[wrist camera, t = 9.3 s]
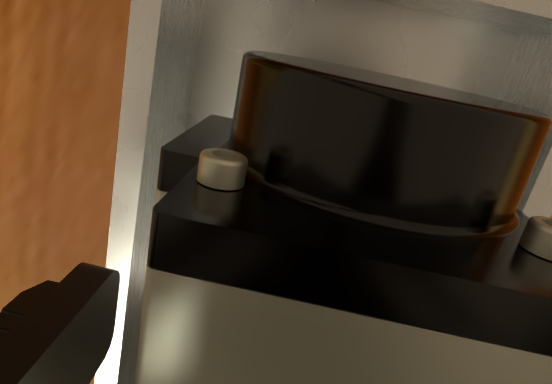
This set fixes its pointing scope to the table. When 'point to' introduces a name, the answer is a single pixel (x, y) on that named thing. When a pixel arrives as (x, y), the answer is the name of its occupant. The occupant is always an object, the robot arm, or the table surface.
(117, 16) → the table surface
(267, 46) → the seat cradle
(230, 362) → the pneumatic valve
